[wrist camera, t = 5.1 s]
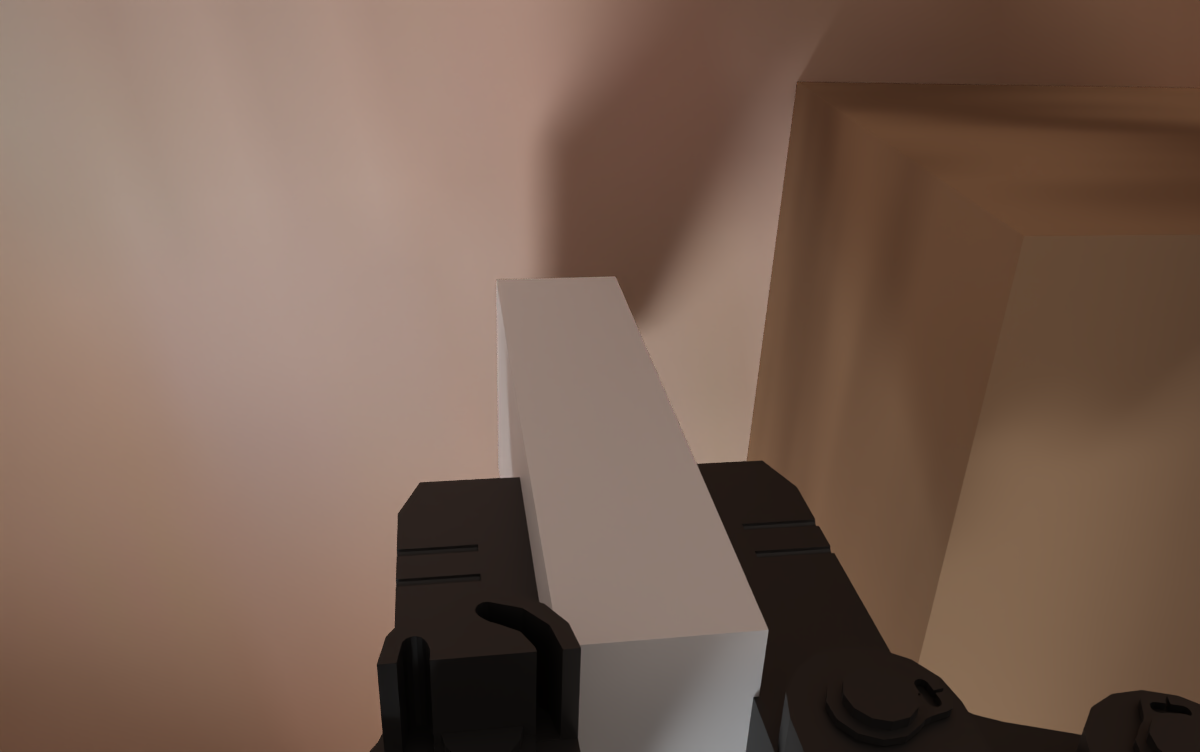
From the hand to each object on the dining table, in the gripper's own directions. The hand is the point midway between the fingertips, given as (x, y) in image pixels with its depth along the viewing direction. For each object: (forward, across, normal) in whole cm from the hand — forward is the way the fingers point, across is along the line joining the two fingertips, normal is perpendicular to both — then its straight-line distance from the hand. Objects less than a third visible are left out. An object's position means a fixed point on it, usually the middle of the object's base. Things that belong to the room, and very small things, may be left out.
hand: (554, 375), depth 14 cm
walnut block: (+2, +7, 0) cm, 7 cm away
